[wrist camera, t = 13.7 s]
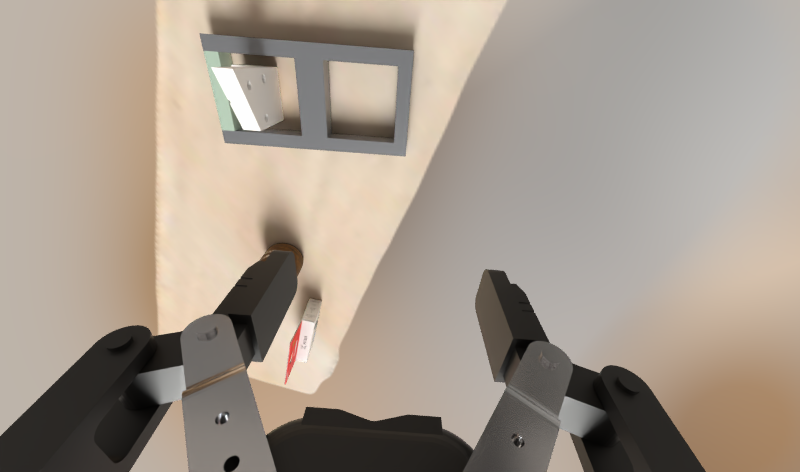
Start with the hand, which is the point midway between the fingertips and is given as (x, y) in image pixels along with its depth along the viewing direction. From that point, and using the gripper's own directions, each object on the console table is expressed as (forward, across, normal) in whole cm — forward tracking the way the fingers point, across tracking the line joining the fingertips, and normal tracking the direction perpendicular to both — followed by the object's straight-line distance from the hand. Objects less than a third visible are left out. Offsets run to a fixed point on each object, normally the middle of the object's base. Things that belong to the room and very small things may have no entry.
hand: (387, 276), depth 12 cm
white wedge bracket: (+29, +17, -3) cm, 33 cm away
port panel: (+29, +10, -3) cm, 31 cm away
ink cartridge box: (+29, +14, +35) cm, 47 cm away
